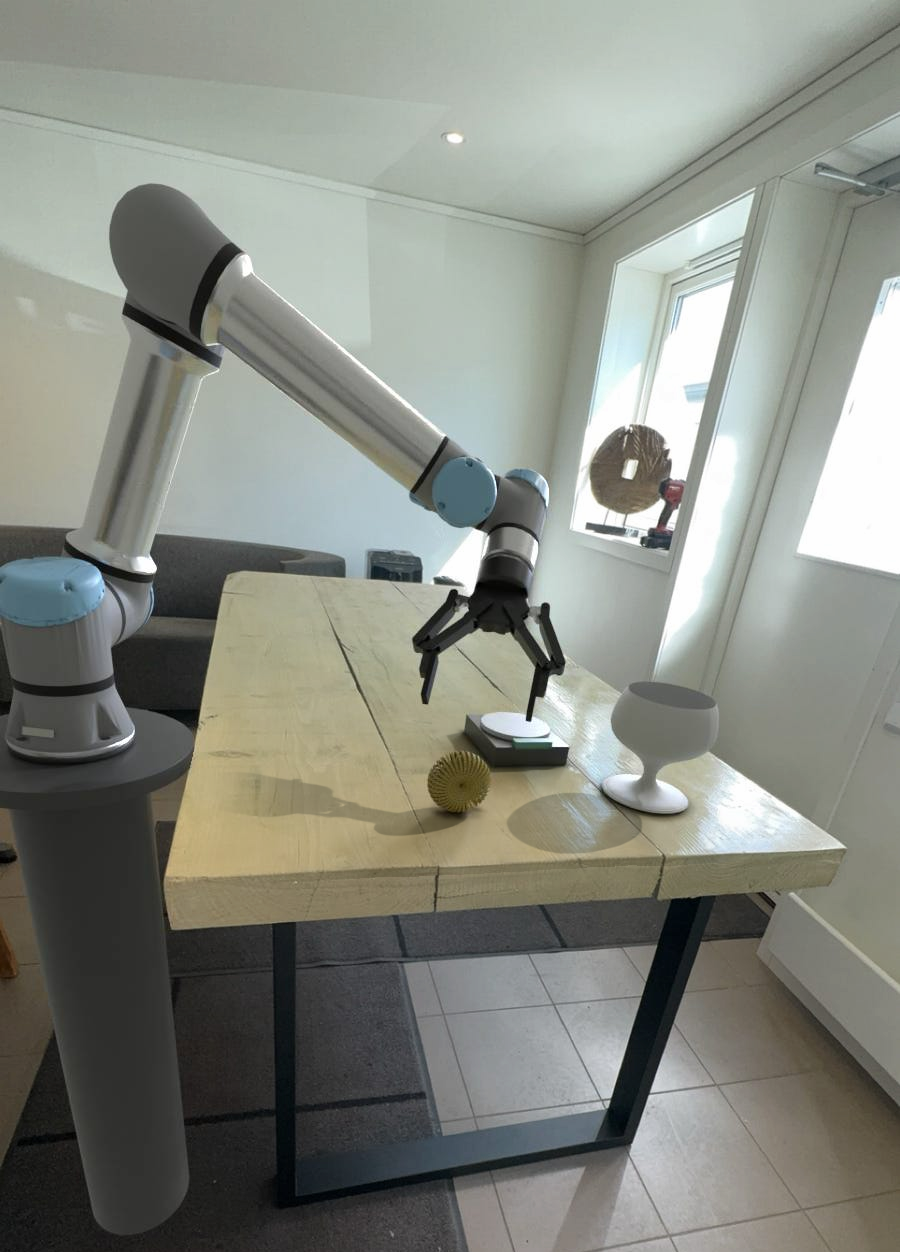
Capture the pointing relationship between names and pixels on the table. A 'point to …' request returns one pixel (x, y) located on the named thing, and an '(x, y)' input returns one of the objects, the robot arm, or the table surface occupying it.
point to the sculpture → (459, 781)
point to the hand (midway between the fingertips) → (476, 708)
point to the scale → (515, 740)
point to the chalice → (660, 740)
